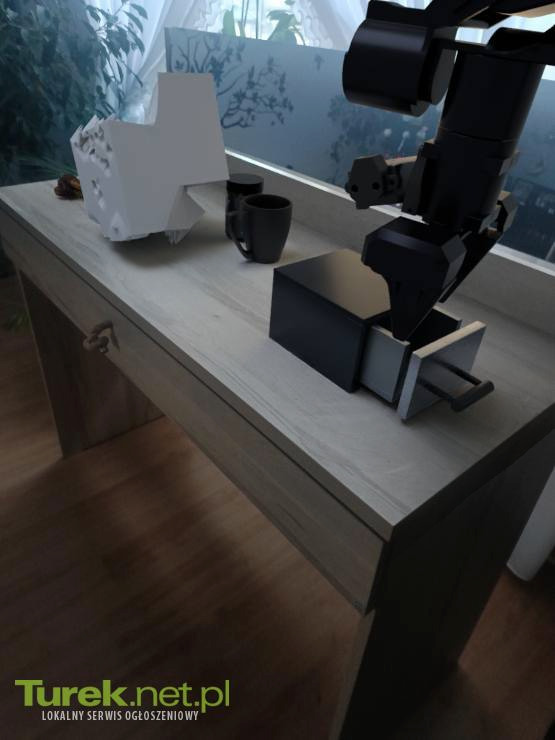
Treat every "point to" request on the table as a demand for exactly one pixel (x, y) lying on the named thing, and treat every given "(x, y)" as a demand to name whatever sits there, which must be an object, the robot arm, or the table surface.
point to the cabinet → (327, 312)
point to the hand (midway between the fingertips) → (420, 319)
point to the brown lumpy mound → (68, 186)
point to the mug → (262, 226)
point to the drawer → (423, 363)
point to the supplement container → (240, 197)
